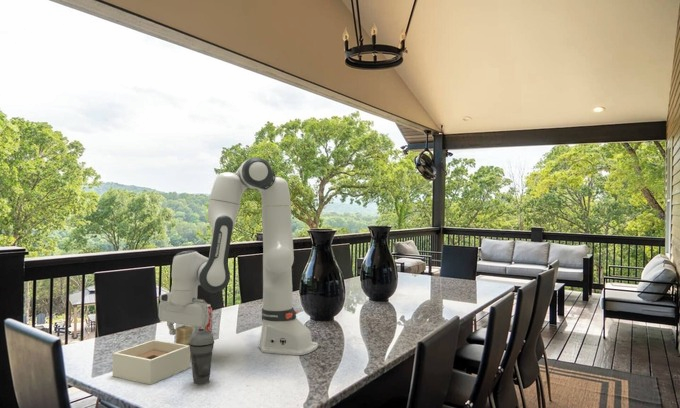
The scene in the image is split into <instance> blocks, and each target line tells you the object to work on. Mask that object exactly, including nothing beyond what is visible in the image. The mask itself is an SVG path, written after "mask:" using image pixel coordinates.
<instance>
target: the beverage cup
mask: <svg viewBox="0 0 680 408" xmlns="http://www.w3.org/2000/svg"><path fill="white" fill-rule="evenodd" d="M206 318H207V314H205V320H204V328H203V329H199V330H197V331H195V332H194V333H193V334H192V336H191V338H190V343H189V345H190V351H191V356H190V361H191V371H192V373H191V374H192V380H193V385H197V386H202V385H206V384H209V382H210V377H211V369H212V357H213V351H214V344H215V338H214V335H213V333H211V332H210V331H208V330H206V329H205V326H206Z"/></svg>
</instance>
